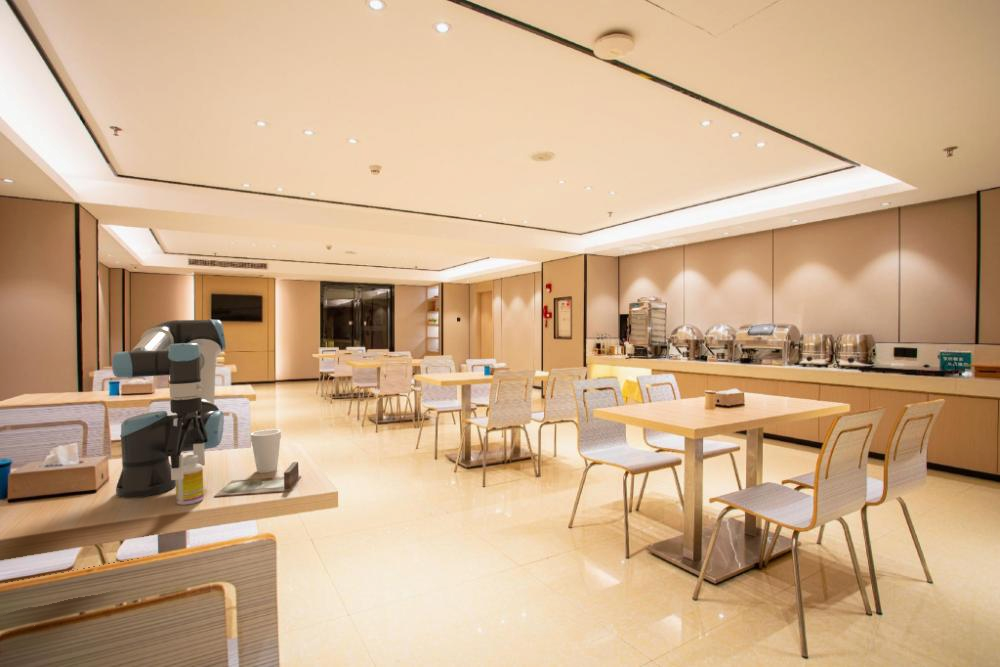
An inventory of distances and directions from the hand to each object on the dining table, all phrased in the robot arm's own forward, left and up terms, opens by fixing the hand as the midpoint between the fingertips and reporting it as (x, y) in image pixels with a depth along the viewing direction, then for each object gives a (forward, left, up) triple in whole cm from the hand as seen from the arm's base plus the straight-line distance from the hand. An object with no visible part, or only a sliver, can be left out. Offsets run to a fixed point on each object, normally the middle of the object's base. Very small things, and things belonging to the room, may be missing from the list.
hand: (189, 472), depth 140 cm
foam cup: (+13, +27, -9) cm, 32 cm away
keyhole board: (+16, +9, -9) cm, 20 cm away
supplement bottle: (0, 0, -9) cm, 9 cm away
